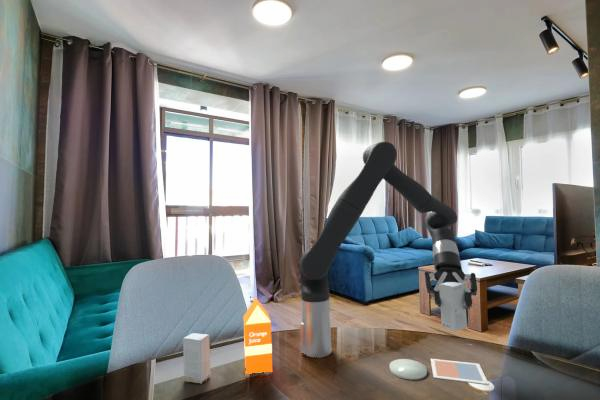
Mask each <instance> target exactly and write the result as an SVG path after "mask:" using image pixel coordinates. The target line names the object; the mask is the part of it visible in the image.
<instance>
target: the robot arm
mask: <svg viewBox="0 0 600 400" xmlns="http://www.w3.org/2000/svg"><path fill="white" fill-rule="evenodd" d="M362 153H363V154H362V161H363V164H364V165H363V166H362V169H361V171H360V172H359V173H358V175H357V177H355V178H354V179H353V180H352V182H350V184H349V185H348V186H347V187H346V188H345V189H344V190H343V192H342V193H341V194H340V195H339V197H338V199H337V200H336V201H335V203H334V205H333V207H332V208H331V210H330V213H329V214H328V216H327V218H326V221H325V223H324V226H323V229H322V231H321V232H320V235H319V237H318V238H317V239H316V241H315V242H314V243H313V245H312V246H311V248H310V249H307V250H305V252H303V254H301V257H300V259H299V268H300V269H299V271H300V272H299V273H300V274H299V275H300V295H301V318H302V319H301V321H302V322H301V323H300V348H301V353H304V354H303V355H305V354H306V355H305V356H307V357H308V358H309V357H310V358H314V357H315V358H314V359H319V358H320V359H321V358H324V357H327V356H330V354H331V353H332V332H331V331H332V329H331V328H332V327H331V308H330V305H331V303H330V288H329V287H330V286H329V277H328V272H329V270H330V268H331V266H332V264H333V261H334V258H336V254H337V252H338V251H339V249H340V247H341V246H342V245H343V242H344V241H345V240H346V238H347V237H348V236H349V235H350V234H351V232H352V230H353V228H354V227H355V225H356V224H357V222H358V221H359V220H360V218H361V217H362V214H363V212H364V210H365V208H366V207H367V206H368V204H369V202H370V201H371V199H372V197H373V195H374V193H375V191H376V190H377V188H378V186H379V185H380V183H382V180H384V181H385V182H386V183H387V184H389V185H390V186H391V187H392V188H394V189H395V190H396V191H397V192H398V194H400V195H401V196H402V197H403V198H404V199H405V200H406V201H407V202H408V203H409V204H410V205H411V206H412V207H413V208H414V209H415V210H416V211H417V212H419V213H420V214H425V213H426V214H427V213H428V214H427V215H426V216H425V217H424V225H425V227H426V229H427V231H428V232H429V235H430V238H431V243H432V259H433V265H434V272H431V273H429V271H425V272H424V282H425V286H426V292H427V294H432V295H433V298H434V304H435V305H436V306H437V307H438V308H441V301H440V290H439V284H442V283H445V282H458V283H463V284H464V290H465V303H466V310H470V309H471V308H472V306H473V299H472V296H476V295H477V292H478V285H477V283H478V282H477V276H476V273H474V272H471V273H470V274H469V273H464V271H463V267H462V263H461V257H460V252H459V249H458V245H457V242H456V237H455V232H454V231H453V230H452V229H451V228H449V227H452V226H453V225H455V224H456V223H457V221H458V215H457V213H456V212H455V210H454V209H453V208H452V207H450V206H449V205H447V204H445V203H444V202H442V201H440V200H439V199H437V198H435V197H434V196H433V195H432V194H431V193H429V191H428V190H427V189H426V188H425V187H424V186H423V185H421V184H420V183H419V182H418V181H416V180H415V179H413V178H412V177H410V176H409V175H407V174H406V173H405V172H403V171H402V170H401V169H399V167H397V166H396V165H395V163H396V160H397V155H398V152H397V149H396V147H395V145H394V144H393V143H392V142H389V141H378V142H376V143H374V144H370V145H369V146H368V147H366V149H364V151H363V152H362ZM433 279H435V280H436V281H437V282H436V284H435V286H434V287H433V286H432V282H431V281H433ZM465 279H466V281H467V282H468V283H469V284H470V288H469V287H468V286H467V284H466V283H465V281H464V280H465ZM316 357H317V358H316Z"/></svg>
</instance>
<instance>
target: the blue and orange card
mask: <svg viewBox="0 0 600 400" xmlns="http://www.w3.org/2000/svg"><path fill="white" fill-rule="evenodd" d="M430 364H431V370H432V377H433V379H440V380H441V379H442V380H449V381H455V382H464V383H470V384H471V383H472V384H478V385H479V384H481V385H488V386H489V382H488V379H487V377H486V375H485V372H484V371H483V369H482V367H481V365H480V363H475V362H467V361H459V360H450V359H449V360H448V359H447V360H446V359H439V358H430Z"/></svg>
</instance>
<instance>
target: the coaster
mask: <svg viewBox="0 0 600 400" xmlns="http://www.w3.org/2000/svg"><path fill="white" fill-rule="evenodd" d="M389 371H390V373H392V374H393V375H395V376H396V377H398V378H401V379H405V380H410V381H411V380H412V381H414V380H421V379H423V378H425V377H426V376H427V374H428V370H427V367H426V366H425V365H424V364H422V363H421V362H420V361H418V360H417V361H416V360H413V359H409V358H398V359H394V360H392V361H390V363H389Z"/></svg>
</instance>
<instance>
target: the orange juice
mask: <svg viewBox="0 0 600 400" xmlns="http://www.w3.org/2000/svg"><path fill="white" fill-rule="evenodd" d="M243 339H244V340H243V341H244V342H243V345H244V369H245V368H246V371H245V375H246V374H252V373H262V372H264V373H265V372H273V344H272V343H273V342H272V321H271V318H270V315H269V313H268V311H267V310H266V309H265V308H264V306H263V305H262V303H261V302H260V300H259V299H257V297H255V298H254V299H253V301H252V302H251V303H250V306H249V307H248V309H247V310H246V312H245V314H244V315H243Z"/></svg>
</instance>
